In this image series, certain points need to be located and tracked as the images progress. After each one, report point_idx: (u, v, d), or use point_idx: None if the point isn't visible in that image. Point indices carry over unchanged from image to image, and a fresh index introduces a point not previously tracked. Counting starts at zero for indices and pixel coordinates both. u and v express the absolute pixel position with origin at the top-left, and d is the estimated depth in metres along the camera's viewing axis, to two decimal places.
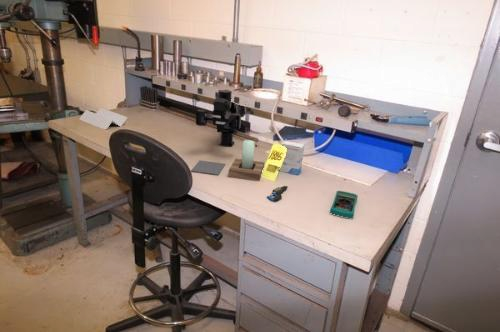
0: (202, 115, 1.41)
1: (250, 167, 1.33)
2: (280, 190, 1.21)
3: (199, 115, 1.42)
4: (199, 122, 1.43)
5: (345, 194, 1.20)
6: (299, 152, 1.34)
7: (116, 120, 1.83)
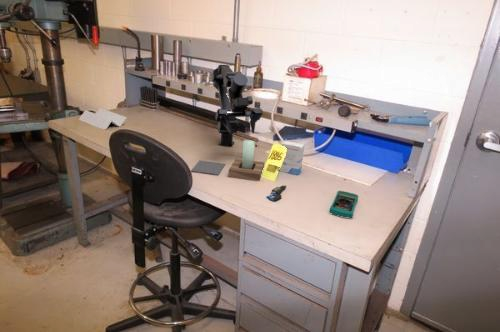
0: (226, 118, 1.36)
1: (250, 167, 1.33)
2: (279, 190, 1.21)
3: (222, 117, 1.36)
4: (221, 121, 1.39)
5: (346, 194, 1.20)
6: (299, 152, 1.33)
7: (115, 120, 1.82)
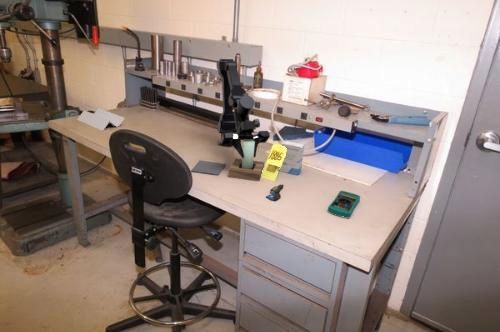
0: (238, 142, 1.31)
1: (250, 167, 1.33)
2: (278, 189, 1.22)
3: (234, 141, 1.31)
4: (232, 144, 1.34)
5: (347, 194, 1.20)
6: (299, 152, 1.33)
7: (113, 121, 1.81)
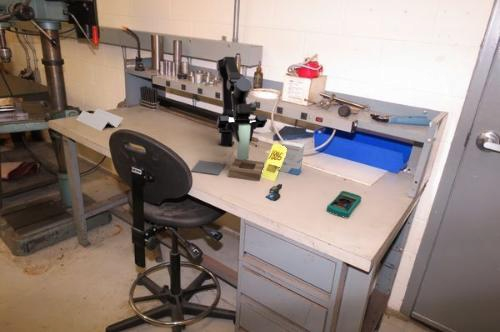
0: (234, 126, 1.29)
1: (246, 152, 1.30)
2: (277, 189, 1.22)
3: (229, 124, 1.29)
4: (228, 128, 1.32)
5: (349, 194, 1.20)
6: (299, 152, 1.34)
7: (112, 121, 1.81)
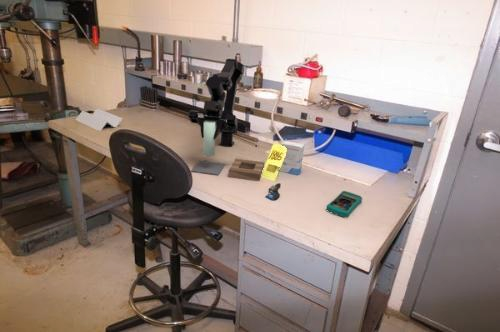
0: (201, 121, 1.32)
1: (209, 148, 1.32)
2: (276, 188, 1.22)
3: (197, 120, 1.33)
4: (199, 123, 1.36)
5: (349, 195, 1.20)
6: (299, 152, 1.34)
7: (111, 121, 1.80)
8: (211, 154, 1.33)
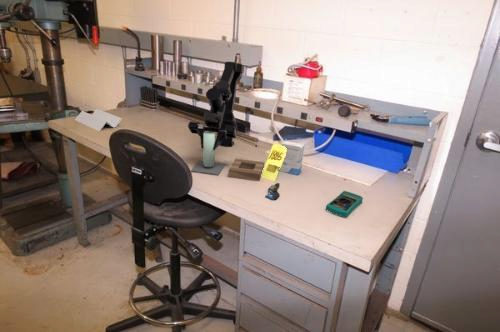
0: (200, 132, 1.34)
1: (209, 159, 1.34)
2: (275, 188, 1.22)
3: (197, 130, 1.35)
4: (199, 134, 1.37)
5: (350, 195, 1.20)
6: (299, 152, 1.34)
7: (111, 121, 1.80)
8: (211, 164, 1.35)
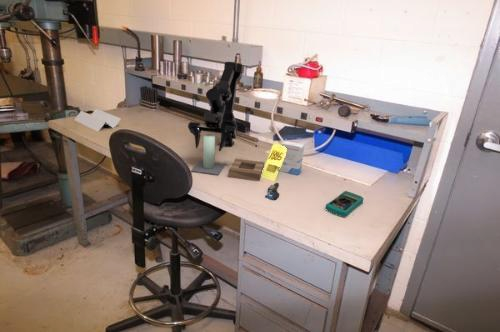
0: (195, 132, 1.34)
1: (209, 161, 1.34)
2: (275, 187, 1.22)
3: (192, 130, 1.35)
4: (194, 134, 1.38)
5: (351, 195, 1.20)
6: (299, 152, 1.34)
7: (110, 121, 1.80)
8: (211, 167, 1.36)
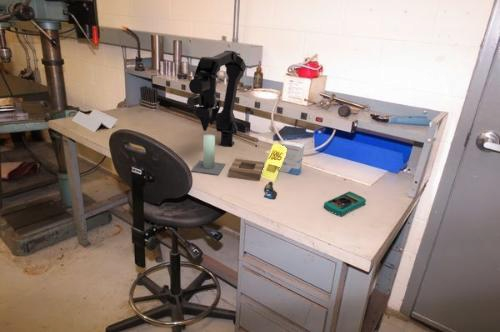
0: None
1: (209, 161, 1.34)
2: (271, 187, 1.23)
3: None
4: None
5: (354, 196, 1.20)
6: (299, 152, 1.34)
7: (107, 122, 1.78)
8: (211, 167, 1.36)
